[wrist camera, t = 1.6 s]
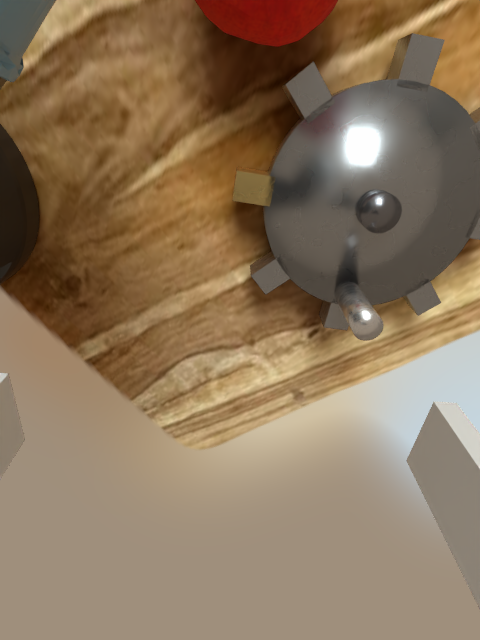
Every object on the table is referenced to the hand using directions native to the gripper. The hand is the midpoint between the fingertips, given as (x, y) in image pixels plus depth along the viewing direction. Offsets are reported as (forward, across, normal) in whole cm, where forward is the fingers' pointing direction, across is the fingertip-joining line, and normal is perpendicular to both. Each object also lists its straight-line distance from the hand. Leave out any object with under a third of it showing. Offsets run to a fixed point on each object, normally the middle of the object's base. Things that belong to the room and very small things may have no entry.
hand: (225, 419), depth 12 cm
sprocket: (+18, +9, +4) cm, 21 cm away
